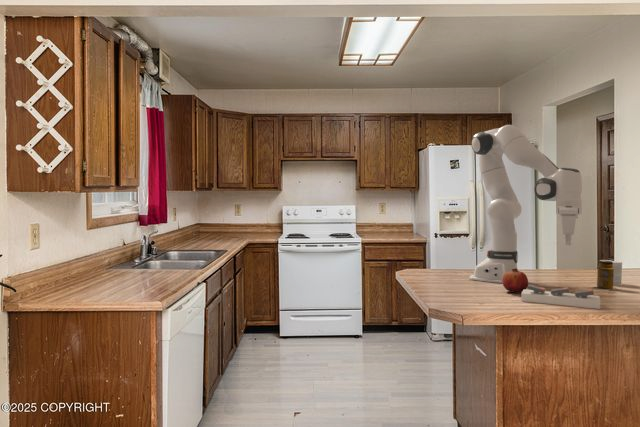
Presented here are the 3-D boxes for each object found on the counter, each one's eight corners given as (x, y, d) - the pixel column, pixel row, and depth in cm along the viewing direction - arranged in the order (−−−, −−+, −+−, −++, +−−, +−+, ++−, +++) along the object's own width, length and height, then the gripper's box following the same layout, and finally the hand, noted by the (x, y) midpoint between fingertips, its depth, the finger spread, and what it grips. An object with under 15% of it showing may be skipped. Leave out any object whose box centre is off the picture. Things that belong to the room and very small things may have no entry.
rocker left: (527, 288, 183) (528, 285, 183) (528, 287, 186) (529, 283, 186) (544, 293, 180) (545, 290, 180) (544, 291, 184) (545, 288, 183)
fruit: (528, 295, 192) (529, 271, 192) (502, 294, 196) (502, 269, 195) (527, 291, 202) (527, 267, 202) (501, 289, 206) (502, 266, 205)
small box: (598, 282, 223) (598, 260, 222) (609, 282, 223) (610, 259, 223) (609, 285, 215) (610, 262, 214) (621, 285, 215) (622, 262, 215)
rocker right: (575, 296, 175) (574, 292, 175) (575, 294, 179) (574, 290, 179) (594, 294, 172) (593, 290, 172) (593, 292, 176) (592, 288, 176)
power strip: (521, 301, 183) (521, 292, 182) (523, 296, 190) (523, 288, 190) (600, 308, 170) (600, 299, 170) (599, 303, 178) (599, 294, 178)
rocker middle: (551, 294, 179) (550, 290, 179) (551, 292, 182) (550, 288, 182) (569, 292, 176) (568, 288, 176) (569, 290, 180) (568, 286, 180)
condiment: (617, 289, 207) (618, 261, 207) (607, 291, 203) (608, 263, 202) (599, 286, 213) (600, 259, 213) (589, 288, 209) (590, 261, 208)
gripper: (560, 208, 197) (559, 242, 197) (558, 210, 179) (558, 246, 179) (577, 209, 194) (577, 243, 194) (578, 210, 176) (577, 247, 176)
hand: (568, 245), depth 186 cm, fingers closed
